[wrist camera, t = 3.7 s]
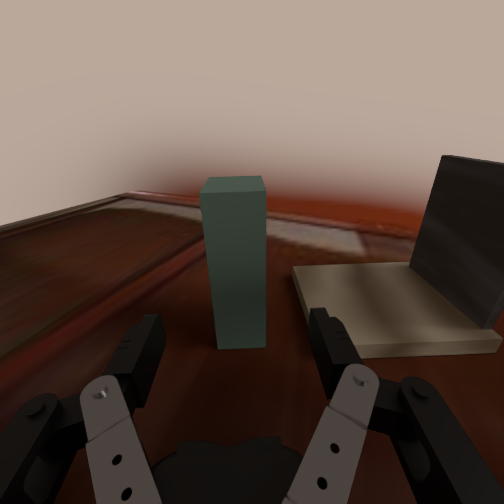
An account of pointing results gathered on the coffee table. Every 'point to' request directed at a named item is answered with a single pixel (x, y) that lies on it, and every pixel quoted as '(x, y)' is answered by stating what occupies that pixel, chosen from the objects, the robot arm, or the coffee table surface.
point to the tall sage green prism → (236, 258)
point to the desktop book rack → (427, 275)
